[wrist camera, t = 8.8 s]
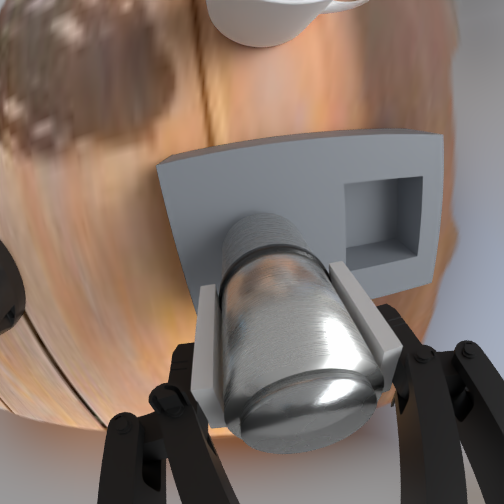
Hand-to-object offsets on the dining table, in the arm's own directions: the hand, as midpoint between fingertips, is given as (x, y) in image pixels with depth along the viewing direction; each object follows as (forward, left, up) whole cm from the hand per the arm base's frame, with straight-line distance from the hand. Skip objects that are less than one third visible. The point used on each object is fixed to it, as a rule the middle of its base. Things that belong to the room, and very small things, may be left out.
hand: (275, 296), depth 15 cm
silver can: (0, 0, -5) cm, 5 cm away
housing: (+5, 0, -12) cm, 13 cm away
